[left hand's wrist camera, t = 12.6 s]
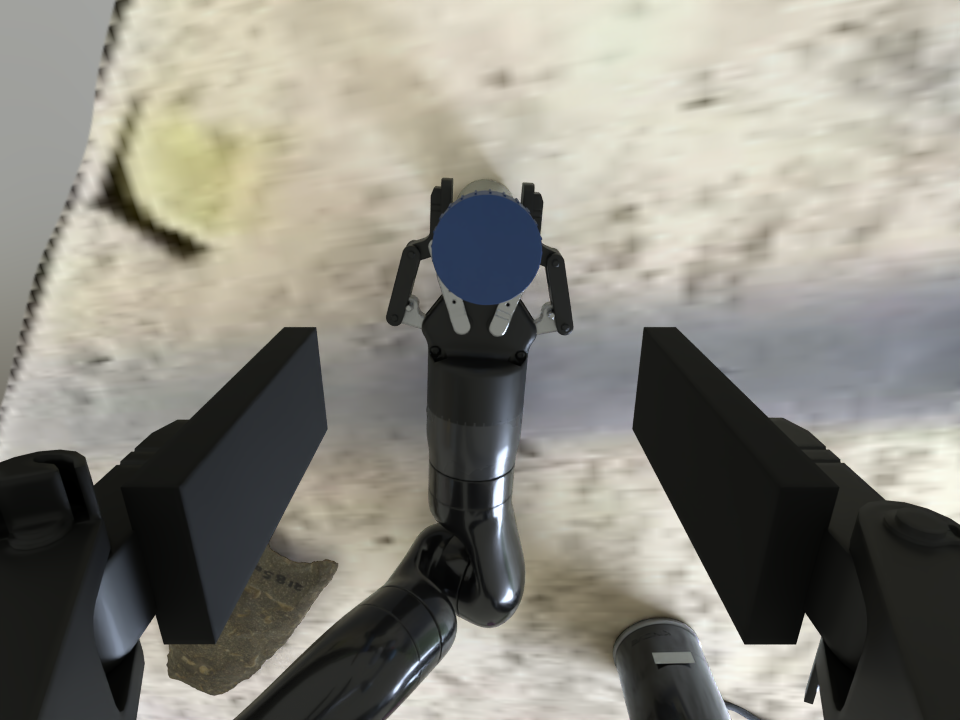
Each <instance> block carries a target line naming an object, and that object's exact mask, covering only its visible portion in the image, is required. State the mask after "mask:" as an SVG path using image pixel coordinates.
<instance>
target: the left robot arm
mask: <svg viewBox="0 0 960 720" xmlns="http://www.w3.org/2000/svg"><path fill="white" fill-rule="evenodd" d="M327 429H328V428H327V419H326V410H325V401H324V392H323V384H322V375H321V366H320V357H319V348H318V339H317V330H316V327H284V328H283V329H282V330H281V331H280V332H279V333H278V334H277V335H276V336H275V337H274V338H273V339H272V340H271V341H270V342H269V343H268V344H267V345H266V346H264V347H263V348H262V349H261V350H260V351H259V352H258V353H257V354H256V355H255V356H254V357H253V358H252V359H251V360H250V361H249V362H248V363H247V364H246V365H245V366H244V367H243V368H242V369H241V370H240V371H239V372H238V373H237V374H236V375H235V376H234V377H233V378H232V379H231V380H230V381H229V382H228V383H227V384H226V385H225V386H223V387H222V388H221V389H220V390H219V391H218V392H217V393H216V394H215V395H214V396H213V397H212V398H211V399H210V400H209V401H208V402H207V403H206V404H205V405H204V406H203V407H202V408H201V409H200V410H199V411H198V412H197V413H196V414H195V415H194V416H193V417H192V418H191V419H190V420H176V421H174V422H172V423H170V424H168V425H166V426H165V427H163V428H161V429H159V430H157V431H155V432H153V433H151V434H150V435H149V436H148V437H147V438H146V439H145V440H144V441H143V442H141V443H140V444H139V445H138V446H137V447H136V448H135V451H134V452H130V453H129V454H128V455H127V456H126V457H125V458H124V459H123V460H122V461H120V465H116V466H115V467H114V468H113V469H112V470H111V471H109V472H108V473H107V474H106V475H105V476H104V477H103V478H102V479H101V480H100V481H98V482H97V483H96V484H95V485H93V482H92V478H91V475H90V472H89V468H88V465H87V462H86V458H85V457H84V456H83V455H81V454H79V453H78V452H76V451H67V450H50V451H39V452H34V453H30V454H26V455H22V456H17V457H13V458H11V459H8V460H5V461H3V462H0V720H136V718H137V711H138V705H139V698H140V691H141V685H142V678H143V671H144V665H145V662H144V655H143V650H142V647H141V643H140V640H139V638H140V637H141V635H142V634H143V632H144V631H145V629H146V628H147V626H148V625H149V623H150V622H151V620H152V619H153V617H154V616H155V615H156V618H157V621H158V625H159V629H160V632H161V636H162V639H163V643H164V644H216V642H217V641H218V639H219V637H220V635H221V633H222V631H223V629H224V627H225V625H226V623H227V621H228V619H229V617H230V616H231V614H232V612H233V610H234V608H235V606H236V604H237V602H238V600H239V598H240V596H241V594H242V592H243V591H244V589H245V587H246V585H247V583H248V581H249V579H250V577H251V575H252V573H253V571H254V569H255V568H256V566H257V564H258V562H259V560H260V558H261V556H262V554H263V552H264V550H265V548H266V546H267V544H268V543H269V541H270V539H271V537H272V535H273V533H274V531H275V529H276V527H277V525H278V523H279V521H280V519H281V518H282V516H283V514H284V512H285V510H286V508H287V506H288V504H289V502H290V500H291V498H292V496H293V494H294V493H295V491H296V489H297V487H298V485H299V483H300V481H301V479H302V477H303V475H304V473H305V471H306V470H307V468H308V466H309V464H310V462H311V460H312V458H313V456H314V454H315V452H316V450H317V448H318V446H319V445H320V443H321V441H322V439H323V437H324V435H325V433H326V431H327ZM632 429H633V431H634V433H635V435H636V437H637V439H638V441H639V443H640V445H641V446H642V448H643V450H644V452H645V454H646V456H647V458H648V460H649V462H650V464H651V466H652V468H653V470H654V471H655V473H656V475H657V477H658V479H659V481H660V483H661V485H662V487H663V489H664V491H665V493H666V494H667V496H668V498H669V500H670V502H671V504H672V506H673V508H674V510H675V512H676V514H677V516H678V518H679V519H680V521H681V523H682V525H683V527H684V529H685V531H686V533H687V535H688V537H689V539H690V541H691V543H692V544H693V546H694V548H695V550H696V552H697V554H698V556H699V558H700V560H701V562H702V564H703V566H704V568H705V569H706V571H707V573H708V575H709V577H710V579H711V581H712V583H713V585H714V587H715V589H716V591H717V592H718V594H719V596H720V598H721V600H722V602H723V604H724V606H725V608H726V610H727V612H728V614H729V616H730V617H731V619H732V621H733V623H734V625H735V627H736V629H737V631H738V633H739V635H740V637H741V639H742V641H743V642H744V644H796V643H797V639H798V636H799V632H800V629H801V625H802V621H803V618H804V614H805V613H806V614H807V616H808V617H809V619H810V620H811V622H812V623H813V625H814V626H815V628H816V629H817V631H818V632H819V633H820V635H821V640H820V643H819V647H818V650H817V653H816V657H815V660H814V663H813V667H812V670H811V673H810V677H809V680H808V684H807V687H806V691H805V698H804V702H807V703H810V704H813V702H814V699H815V695H816V692H817V691H818V690H820V696H821V703H822V709H823V716H824V720H960V525H959V524H958V523H956V522H955V521H953V520H952V519H950V518H948V517H946V516H943V515H941V514H939V513H936V512H934V511H932V510H930V509H927V508H923V507H920V506H916V505H913V504H909V503H905V502H897V501H887V500H885V499H884V498H883V497H881V496H880V495H879V494H878V493H877V492H876V491H875V490H874V489H873V488H871V487H870V486H869V485H868V484H867V483H866V482H865V481H864V480H863V479H861V478H860V477H859V476H858V475H857V474H856V473H855V472H854V471H853V470H851V469H850V468H849V467H848V466H847V465H846V464H845V463H841V462H840V459H839V458H838V457H837V456H836V455H835V454H834V453H832V452H831V451H830V450H826V446H825V445H824V444H822V443H821V442H820V441H819V440H818V439H817V438H816V437H815V436H814V435H812V434H811V433H810V432H809V431H808V430H806V429H804V428H802V427H800V426H798V425H796V424H794V423H792V422H790V421H788V420H786V419H784V418H768V417H767V416H766V415H765V414H764V413H763V412H762V411H761V410H760V409H759V408H758V407H757V406H756V405H755V404H754V403H753V402H752V401H751V400H750V399H749V398H748V397H747V396H746V395H745V394H744V393H743V392H742V391H741V390H740V389H739V388H738V387H736V386H735V385H734V384H733V383H732V382H731V381H730V380H729V379H728V378H727V377H726V376H725V375H724V374H723V373H722V372H721V371H720V370H719V369H718V368H717V367H716V366H715V365H714V364H713V363H712V362H711V361H710V360H709V359H708V358H707V357H706V356H705V355H704V354H703V353H702V352H701V351H700V350H699V349H698V348H697V347H696V346H694V345H693V344H692V343H691V342H690V341H689V340H688V339H687V338H686V337H685V336H684V335H683V334H682V333H681V332H680V331H679V330H678V329H677V328H676V327H644V330H643V339H642V348H641V357H640V366H639V375H638V384H637V392H636V401H635V410H634V419H633V428H632Z"/></svg>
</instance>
